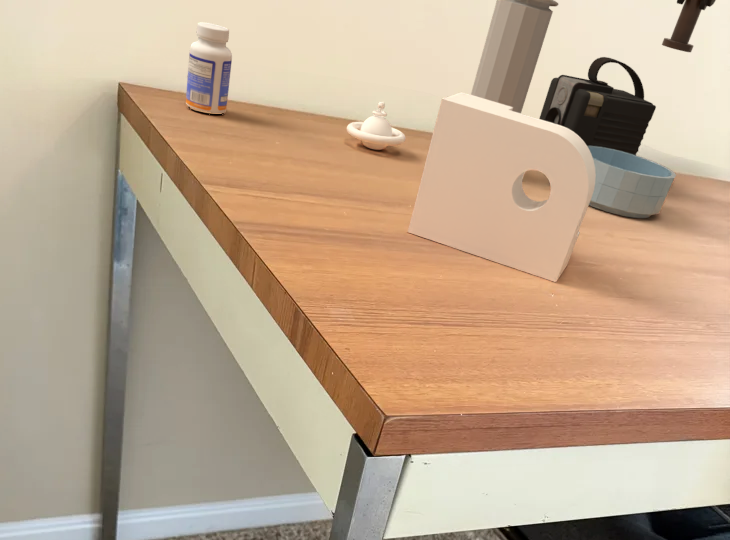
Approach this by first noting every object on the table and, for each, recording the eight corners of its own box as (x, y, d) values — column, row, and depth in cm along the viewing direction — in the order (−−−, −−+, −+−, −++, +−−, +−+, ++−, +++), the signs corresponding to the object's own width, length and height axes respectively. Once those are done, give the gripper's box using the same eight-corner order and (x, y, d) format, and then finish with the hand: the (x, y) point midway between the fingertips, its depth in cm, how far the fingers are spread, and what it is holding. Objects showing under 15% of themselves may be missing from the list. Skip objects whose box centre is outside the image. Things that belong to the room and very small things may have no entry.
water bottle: (505, 179, 112) (574, -41, 97) (449, 165, 112) (510, -57, 97) (504, 164, 119) (569, -43, 104) (451, 151, 119) (508, -58, 104)
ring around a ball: (408, 160, 109) (395, 144, 115) (417, 113, 106) (404, 99, 112) (349, 152, 108) (340, 136, 114) (357, 104, 104) (347, 90, 110)
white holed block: (407, 232, 85) (441, 98, 77) (436, 211, 93) (470, 89, 85) (555, 282, 82) (606, 148, 74) (572, 256, 90) (620, 133, 82)
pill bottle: (214, 105, 112) (223, 23, 107) (233, 117, 109) (242, 33, 103) (178, 102, 110) (184, 18, 104) (195, 114, 106) (203, 28, 100)
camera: (518, 152, 128) (553, 42, 119) (591, 162, 133) (629, 58, 124) (553, 174, 121) (593, 59, 112) (629, 184, 126) (673, 75, 117)
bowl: (613, 189, 121) (629, 149, 118) (677, 222, 112) (696, 180, 109) (545, 183, 115) (559, 142, 112) (607, 218, 106) (625, 174, 103)
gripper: (708, -144, 107) (643, -37, 105) (817, -123, 102) (752, -11, 101) (697, -89, 114) (637, 12, 112) (799, -66, 109) (738, 39, 108)
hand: (691, 0), depth 106 cm, fingers closed on stirring stick, 2 cm apart
